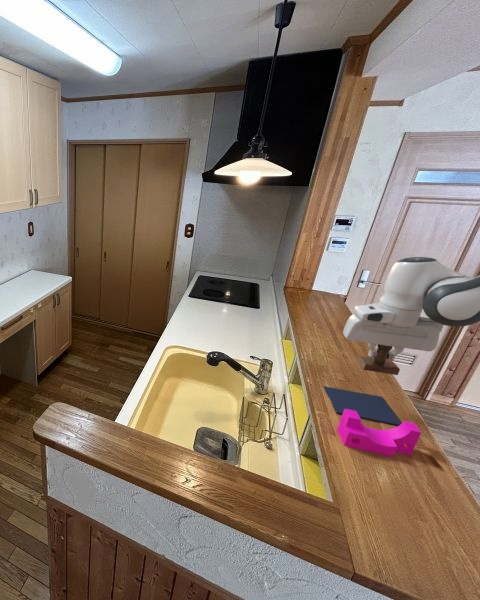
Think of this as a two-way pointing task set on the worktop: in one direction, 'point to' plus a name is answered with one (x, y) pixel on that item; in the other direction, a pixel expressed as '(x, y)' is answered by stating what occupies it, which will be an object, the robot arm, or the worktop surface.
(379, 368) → the stamp
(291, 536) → the worktop surface
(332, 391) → the ink pad
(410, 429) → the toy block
